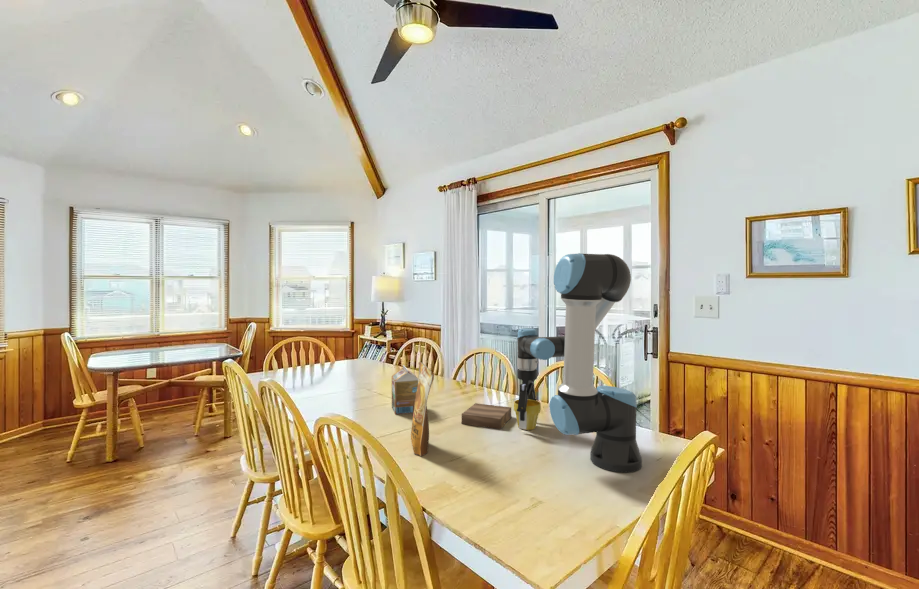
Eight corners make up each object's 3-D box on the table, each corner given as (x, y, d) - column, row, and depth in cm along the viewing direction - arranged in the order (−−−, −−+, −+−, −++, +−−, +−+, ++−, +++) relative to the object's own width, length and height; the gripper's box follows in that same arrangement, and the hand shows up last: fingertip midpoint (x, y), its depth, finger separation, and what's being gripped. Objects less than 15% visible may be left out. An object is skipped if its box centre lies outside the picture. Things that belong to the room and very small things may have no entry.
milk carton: (391, 407, 190) (391, 365, 189) (414, 405, 193) (414, 364, 192) (395, 414, 180) (395, 370, 179) (419, 412, 183) (419, 368, 182)
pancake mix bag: (427, 436, 154) (427, 360, 153) (434, 457, 135) (434, 370, 135) (409, 437, 153) (409, 360, 152) (413, 459, 134) (413, 371, 133)
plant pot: (539, 423, 168) (539, 399, 168) (541, 432, 158) (541, 406, 158) (513, 422, 169) (513, 398, 169) (513, 431, 159) (514, 405, 159)
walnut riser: (500, 429, 162) (500, 418, 161) (461, 423, 168) (461, 413, 167) (511, 416, 176) (511, 407, 176) (475, 412, 182) (475, 403, 182)
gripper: (529, 376, 150) (529, 435, 151) (543, 363, 173) (542, 414, 174) (509, 374, 153) (508, 432, 154) (525, 362, 176) (524, 412, 177)
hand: (526, 423), depth 164 cm, fingers open, 13 cm apart
